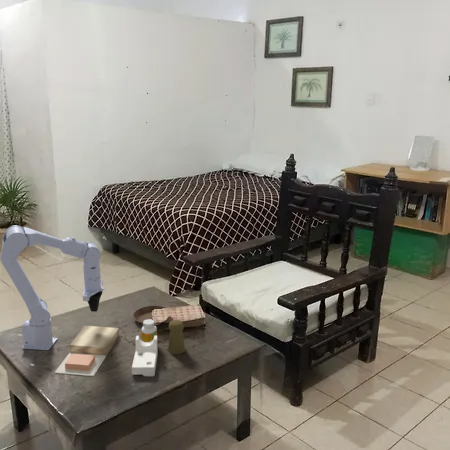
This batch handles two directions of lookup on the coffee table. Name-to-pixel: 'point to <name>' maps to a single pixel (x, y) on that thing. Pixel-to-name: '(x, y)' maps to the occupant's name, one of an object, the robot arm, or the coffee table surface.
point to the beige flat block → (94, 340)
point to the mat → (91, 372)
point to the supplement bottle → (148, 330)
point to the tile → (80, 362)
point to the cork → (176, 337)
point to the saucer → (144, 313)
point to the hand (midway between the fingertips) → (94, 310)
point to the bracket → (145, 357)
